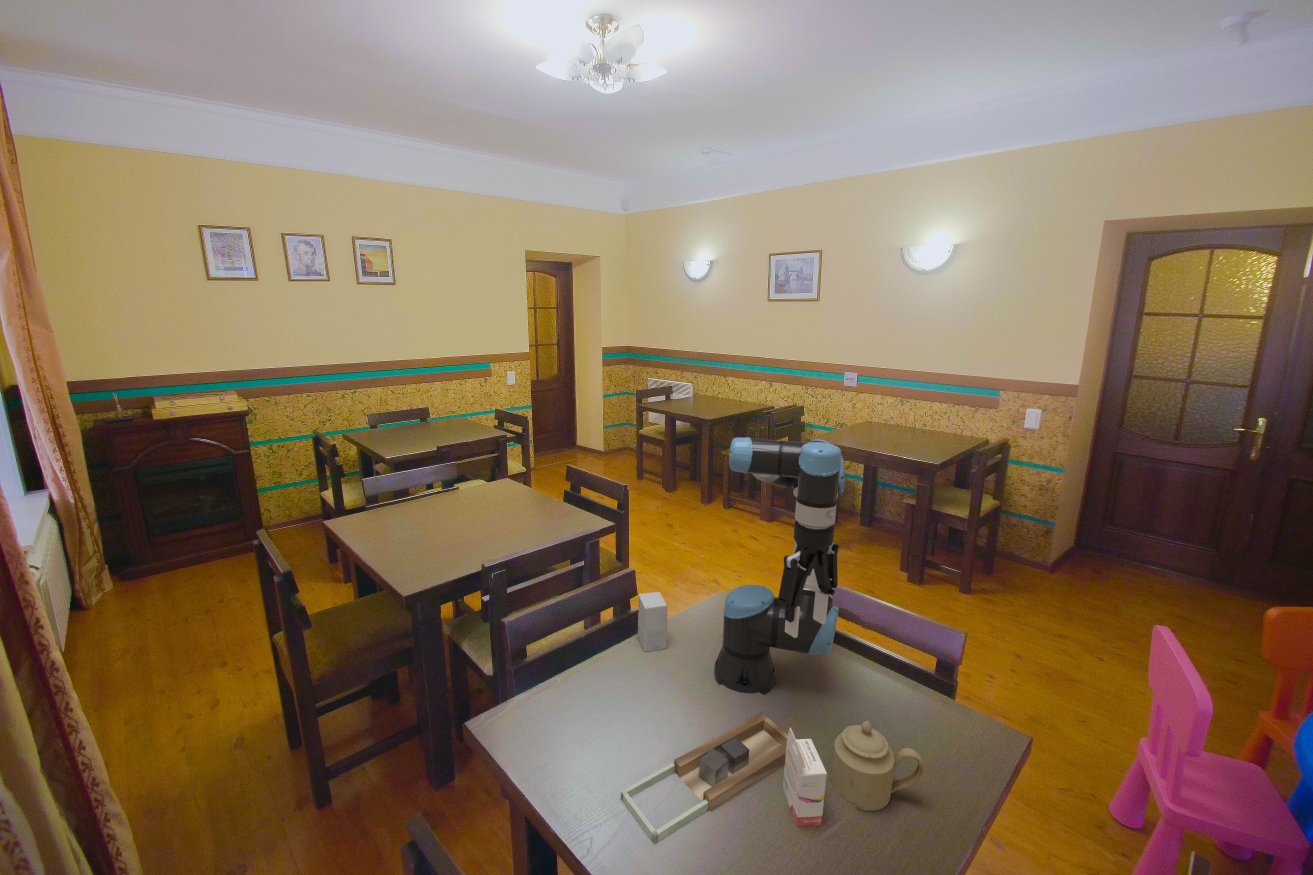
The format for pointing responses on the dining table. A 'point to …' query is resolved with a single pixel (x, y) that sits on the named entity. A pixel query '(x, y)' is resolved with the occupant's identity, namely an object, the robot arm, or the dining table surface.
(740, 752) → the chip
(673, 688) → the dining table surface
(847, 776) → the sugar bowl
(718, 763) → the chip
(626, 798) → the tray
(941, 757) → the dining table surface
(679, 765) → the slot board
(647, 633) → the small box
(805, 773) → the ink cartridge box
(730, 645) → the robot arm
